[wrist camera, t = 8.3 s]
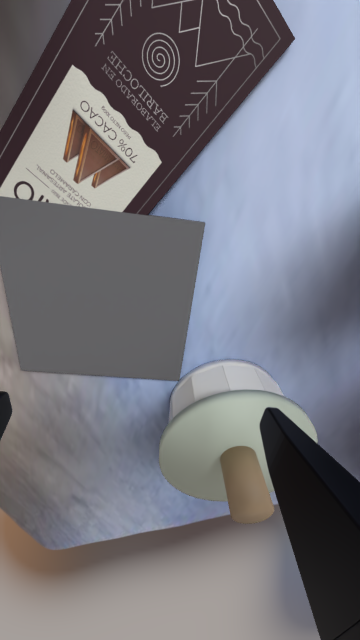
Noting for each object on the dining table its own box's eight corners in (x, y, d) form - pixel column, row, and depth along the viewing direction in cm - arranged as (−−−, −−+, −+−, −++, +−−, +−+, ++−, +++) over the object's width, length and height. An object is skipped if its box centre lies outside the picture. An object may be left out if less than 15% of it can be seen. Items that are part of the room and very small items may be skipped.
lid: (336, 394, 20) (385, 455, 15) (283, 491, 26) (307, 555, 21) (167, 384, 18) (168, 447, 14) (153, 488, 24) (150, 555, 20)
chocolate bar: (295, 38, 14) (94, 278, 19) (287, 47, 14) (97, 274, 20) (169, -182, 10) (-29, 183, 16) (169, -154, 11) (-19, 183, 17)
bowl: (291, 363, 25) (319, 403, 20) (260, 440, 30) (276, 485, 25) (176, 354, 23) (179, 394, 19) (164, 436, 28) (164, 482, 24)
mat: (204, 222, 18) (205, 223, 18) (178, 376, 25) (179, 380, 24) (-9, 194, 17) (-14, 194, 16) (24, 365, 23) (21, 370, 23)
